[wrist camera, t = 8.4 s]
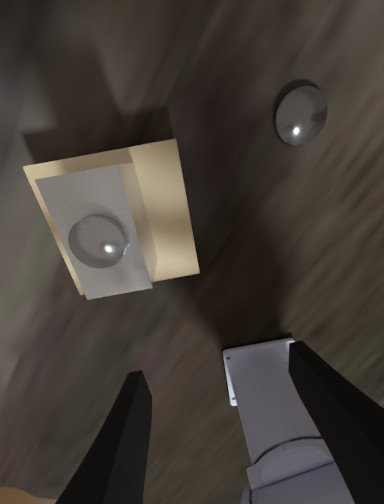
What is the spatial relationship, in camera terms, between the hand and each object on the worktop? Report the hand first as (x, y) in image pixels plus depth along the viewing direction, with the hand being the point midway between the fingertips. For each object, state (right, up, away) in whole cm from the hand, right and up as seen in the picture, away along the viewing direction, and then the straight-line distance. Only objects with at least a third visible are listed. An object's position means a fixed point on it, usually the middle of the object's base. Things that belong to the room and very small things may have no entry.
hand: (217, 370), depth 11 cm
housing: (-6, +8, +5) cm, 12 cm away
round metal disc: (+6, +16, +5) cm, 18 cm away
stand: (-6, +8, +7) cm, 13 cm away
